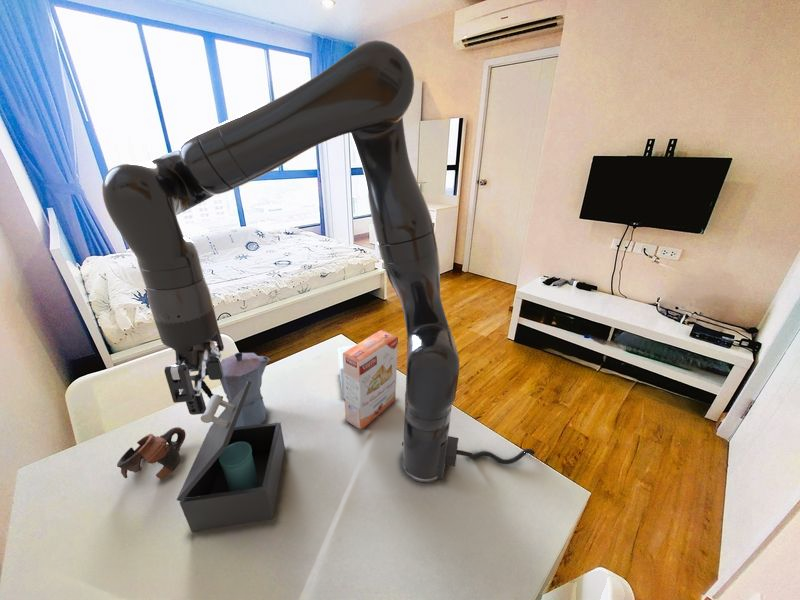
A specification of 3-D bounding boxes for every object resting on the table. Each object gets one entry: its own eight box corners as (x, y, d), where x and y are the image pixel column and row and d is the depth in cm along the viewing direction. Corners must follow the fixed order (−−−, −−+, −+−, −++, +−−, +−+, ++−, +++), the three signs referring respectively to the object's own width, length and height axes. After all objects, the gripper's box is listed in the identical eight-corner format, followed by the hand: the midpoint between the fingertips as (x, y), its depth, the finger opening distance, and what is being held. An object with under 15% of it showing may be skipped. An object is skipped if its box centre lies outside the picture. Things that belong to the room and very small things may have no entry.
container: (264, 476, 66) (257, 444, 62) (246, 501, 61) (238, 469, 58) (241, 469, 67) (233, 438, 64) (222, 494, 63) (212, 462, 59)
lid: (251, 382, 64) (226, 370, 62) (227, 447, 50) (194, 434, 48) (213, 428, 67) (188, 418, 65) (180, 501, 53) (147, 492, 51)
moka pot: (283, 421, 81) (272, 355, 72) (214, 449, 73) (193, 378, 64) (273, 398, 88) (262, 336, 79) (209, 422, 80) (189, 355, 71)
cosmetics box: (339, 375, 98) (337, 346, 93) (360, 372, 99) (359, 344, 95) (342, 399, 88) (339, 368, 84) (365, 395, 90) (364, 365, 85)
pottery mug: (152, 497, 63) (117, 472, 60) (139, 488, 69) (107, 466, 66) (203, 442, 71) (175, 418, 68) (187, 438, 77) (161, 416, 74)
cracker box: (362, 432, 78) (359, 362, 69) (344, 420, 81) (340, 351, 72) (397, 401, 88) (399, 335, 79) (380, 391, 91) (380, 328, 83)
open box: (285, 450, 73) (280, 422, 69) (273, 521, 59) (265, 490, 55) (221, 458, 71) (212, 429, 67) (192, 534, 57) (179, 502, 53)
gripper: (191, 331, 42) (218, 424, 49) (226, 289, 54) (243, 367, 61) (127, 335, 40) (163, 429, 47) (177, 291, 53) (200, 370, 60)
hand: (208, 394), depth 54 cm, fingers open, 8 cm apart
